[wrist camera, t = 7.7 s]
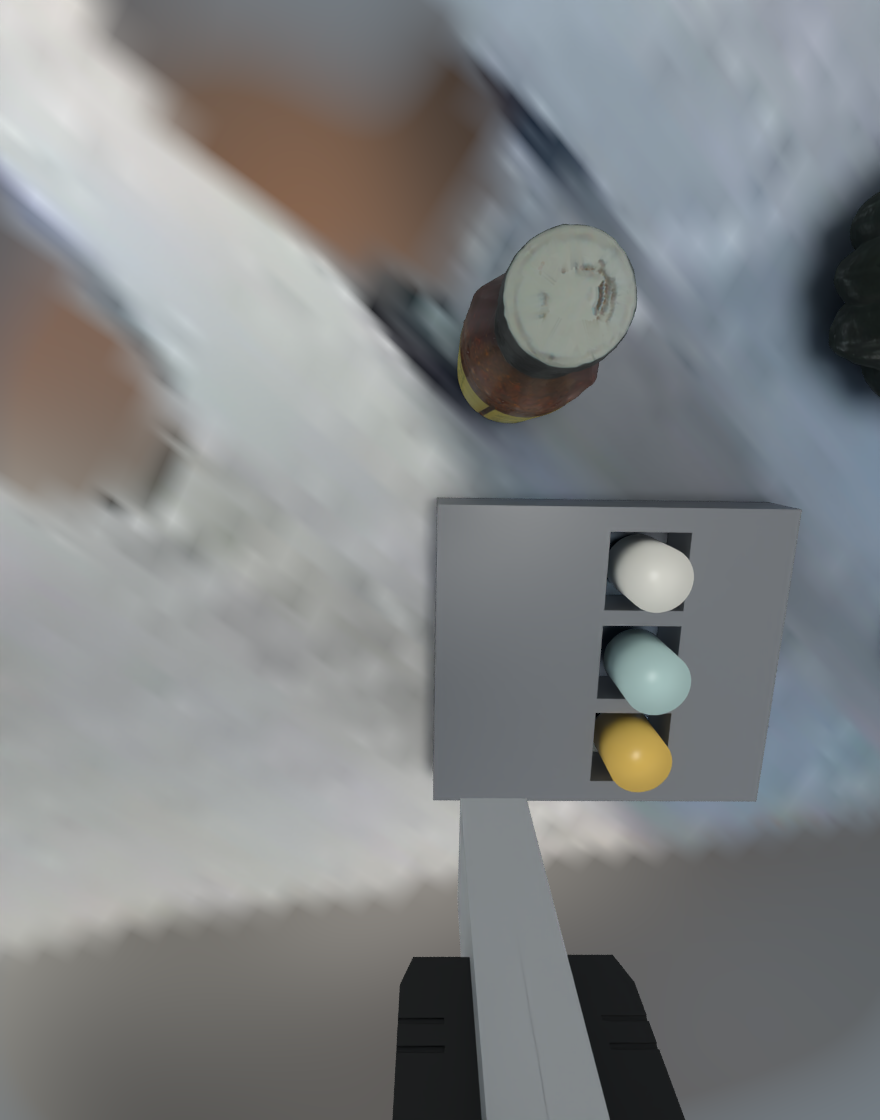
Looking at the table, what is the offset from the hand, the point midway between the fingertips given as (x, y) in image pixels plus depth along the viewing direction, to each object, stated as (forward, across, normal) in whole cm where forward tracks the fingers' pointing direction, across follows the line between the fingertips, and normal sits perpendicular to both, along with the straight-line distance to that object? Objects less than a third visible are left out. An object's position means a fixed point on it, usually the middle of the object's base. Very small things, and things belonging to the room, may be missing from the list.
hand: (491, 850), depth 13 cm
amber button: (+25, +12, -11) cm, 30 cm away
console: (+26, +10, -5) cm, 29 cm away
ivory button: (+25, +12, +1) cm, 28 cm away
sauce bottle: (+27, +3, +13) cm, 30 cm away
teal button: (+24, +12, -5) cm, 27 cm away
